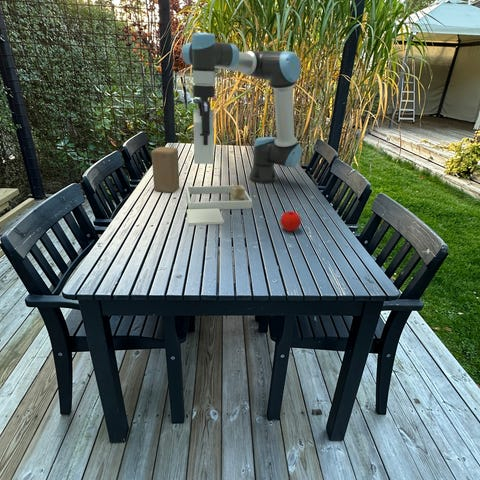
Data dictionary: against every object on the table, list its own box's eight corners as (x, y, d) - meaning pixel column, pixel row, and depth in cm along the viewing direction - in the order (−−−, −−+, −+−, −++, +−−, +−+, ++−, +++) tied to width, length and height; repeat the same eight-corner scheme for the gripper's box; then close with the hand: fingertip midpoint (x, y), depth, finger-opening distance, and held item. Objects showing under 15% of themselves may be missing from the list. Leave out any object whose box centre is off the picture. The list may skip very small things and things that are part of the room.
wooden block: (172, 193, 164) (170, 152, 155) (153, 191, 165) (150, 150, 156) (180, 187, 173) (178, 147, 163) (161, 185, 174) (159, 146, 165)
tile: (218, 210, 147) (218, 208, 147) (223, 223, 135) (223, 221, 135) (186, 211, 145) (186, 209, 144) (188, 225, 132) (188, 223, 132)
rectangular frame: (241, 192, 170) (242, 185, 168) (251, 208, 151) (252, 201, 149) (186, 193, 165) (185, 186, 163) (188, 210, 146) (188, 203, 144)
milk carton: (195, 159, 132) (194, 107, 123) (213, 159, 133) (213, 108, 124) (194, 164, 126) (193, 110, 117) (213, 164, 127) (213, 110, 118)
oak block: (240, 201, 158) (241, 185, 154) (244, 205, 154) (245, 188, 150) (230, 202, 156) (230, 186, 153) (234, 206, 152) (234, 189, 149)
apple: (278, 224, 137) (280, 207, 133) (298, 225, 137) (300, 208, 133) (280, 233, 130) (282, 215, 126) (300, 234, 129) (303, 216, 126)
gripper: (191, 82, 125) (192, 145, 136) (195, 86, 107) (196, 157, 118) (211, 83, 127) (210, 145, 137) (218, 87, 109) (217, 157, 119)
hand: (204, 151), depth 127 cm, fingers closed on milk carton, 7 cm apart
